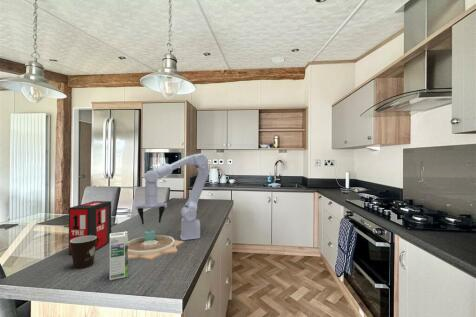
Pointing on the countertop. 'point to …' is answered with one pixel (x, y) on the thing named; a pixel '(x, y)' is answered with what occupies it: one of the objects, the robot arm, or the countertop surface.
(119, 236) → the syrup box
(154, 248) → the ring tray
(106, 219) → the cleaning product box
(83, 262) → the coffee mug
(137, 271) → the countertop surface
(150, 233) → the bead
